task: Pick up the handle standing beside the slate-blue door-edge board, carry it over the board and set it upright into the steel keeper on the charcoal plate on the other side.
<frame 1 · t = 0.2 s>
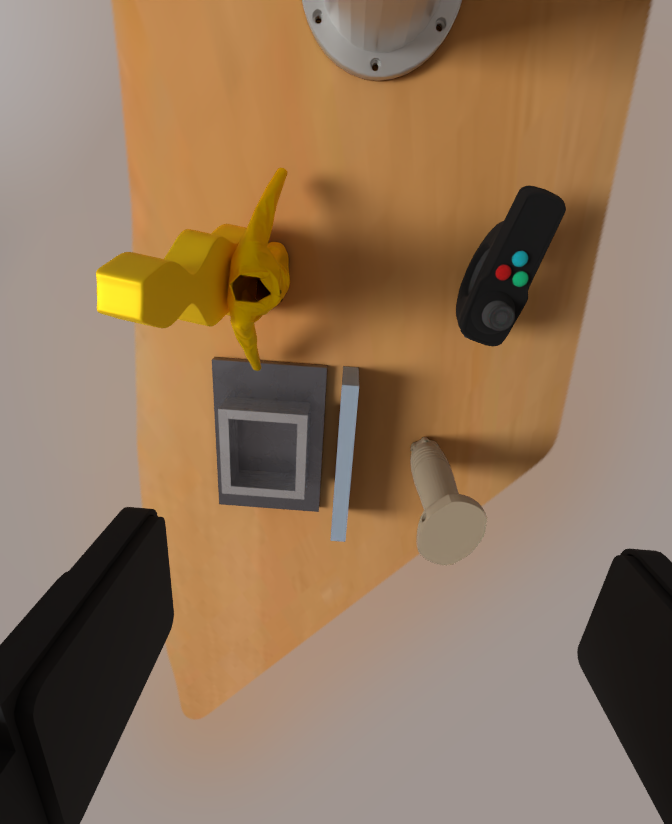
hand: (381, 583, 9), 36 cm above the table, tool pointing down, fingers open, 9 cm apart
keeper: (270, 437, 48), on the table
handle: (423, 447, 48), on the table
controller: (484, 265, 41), on the table
figure statuette: (256, 270, 42), on the table
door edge: (344, 442, 48), on the table
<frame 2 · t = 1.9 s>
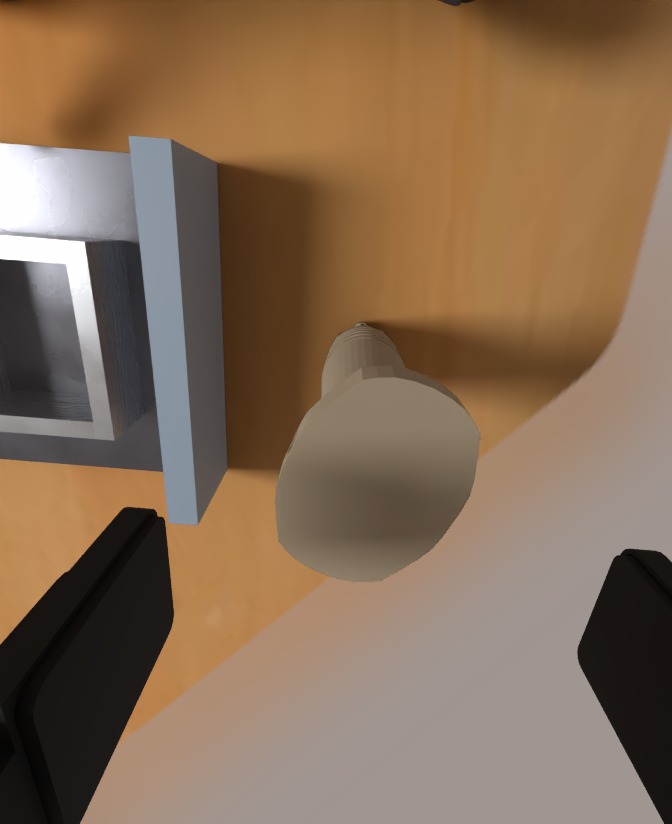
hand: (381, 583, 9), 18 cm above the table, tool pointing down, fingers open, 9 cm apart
keeper: (66, 324, 25), on the table
handle: (361, 347, 25), on the table
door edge: (209, 336, 25), on the table
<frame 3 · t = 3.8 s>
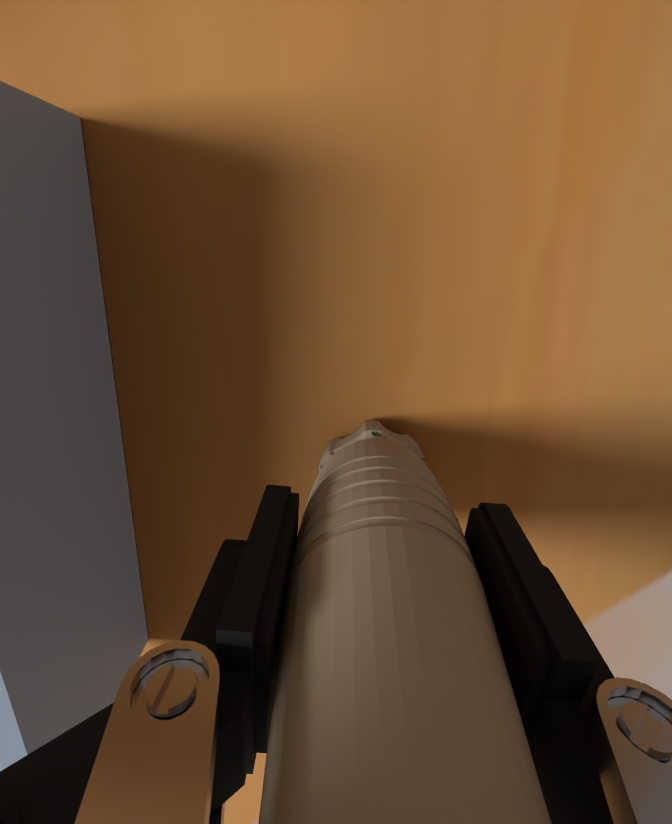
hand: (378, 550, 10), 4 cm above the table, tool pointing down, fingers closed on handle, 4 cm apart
handle: (371, 459, 14), on the table, touching gripper
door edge: (98, 439, 14), on the table
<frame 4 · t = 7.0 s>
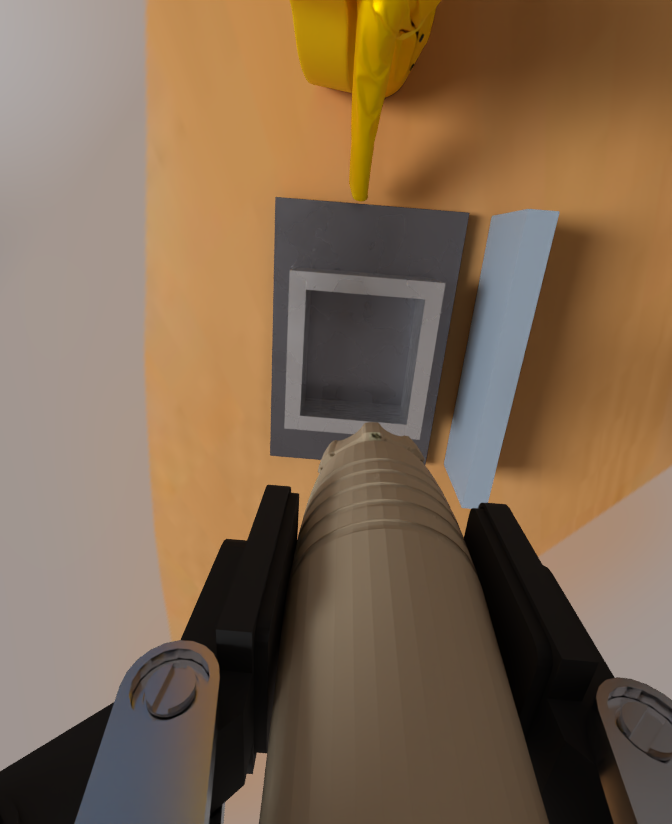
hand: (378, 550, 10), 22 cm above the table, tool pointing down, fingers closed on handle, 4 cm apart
keeper: (358, 344, 30), on the table
handle: (371, 460, 14), point 18 cm above the table, touching gripper
figure statuette: (362, 28, 24), on the table
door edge: (476, 354, 30), on the table
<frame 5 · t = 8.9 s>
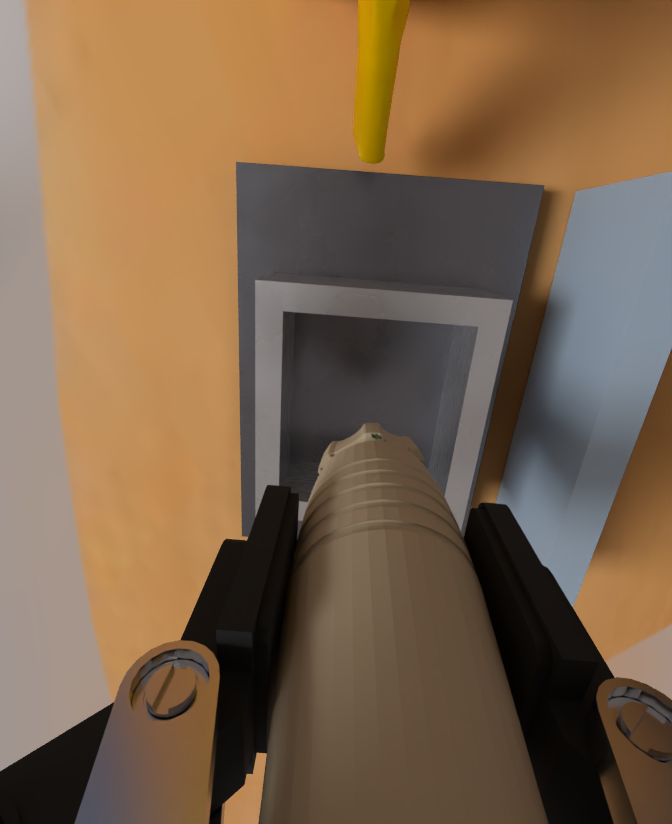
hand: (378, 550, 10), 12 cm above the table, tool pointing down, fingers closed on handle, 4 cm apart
keeper: (366, 384, 21), on the table
handle: (370, 461, 14), point 7 cm above the table, touching gripper
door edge: (539, 398, 21), on the table
when the fingers open (6 cm above the table, at t = 10.3 s): handle stays where it is, resting on keeper.
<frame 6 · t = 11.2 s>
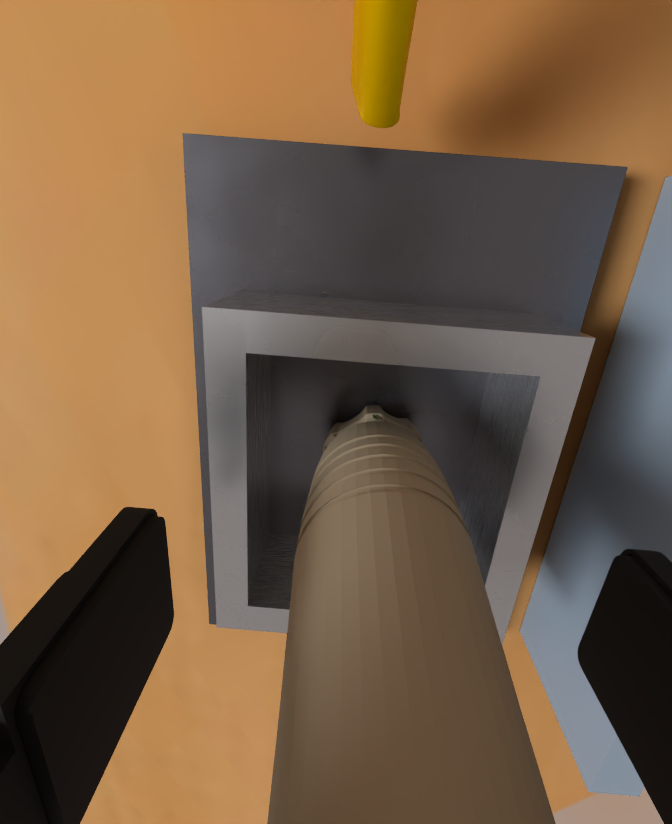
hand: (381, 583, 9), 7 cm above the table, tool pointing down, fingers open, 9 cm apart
keeper: (369, 436, 16), on the table
handle: (371, 442, 15), point 1 cm above the table, touching keeper
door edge: (598, 454, 16), on the table
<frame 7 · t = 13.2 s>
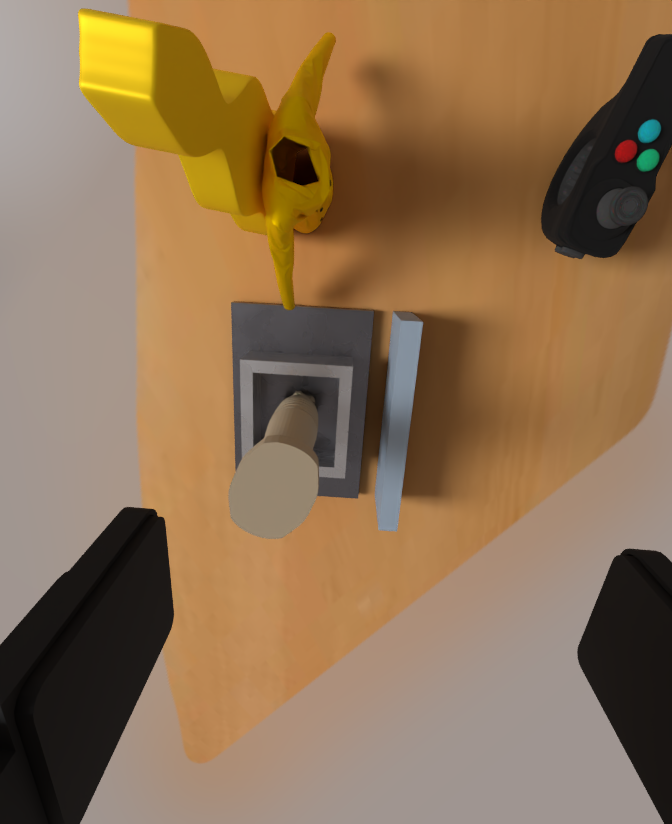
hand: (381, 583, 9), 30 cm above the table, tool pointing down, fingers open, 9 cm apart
keeper: (300, 404, 40), on the table
handle: (300, 405, 39), point 1 cm above the table, touching keeper
controller: (572, 175, 33), on the table
figure statuette: (288, 188, 34), on the table
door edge: (391, 410, 39), on the table
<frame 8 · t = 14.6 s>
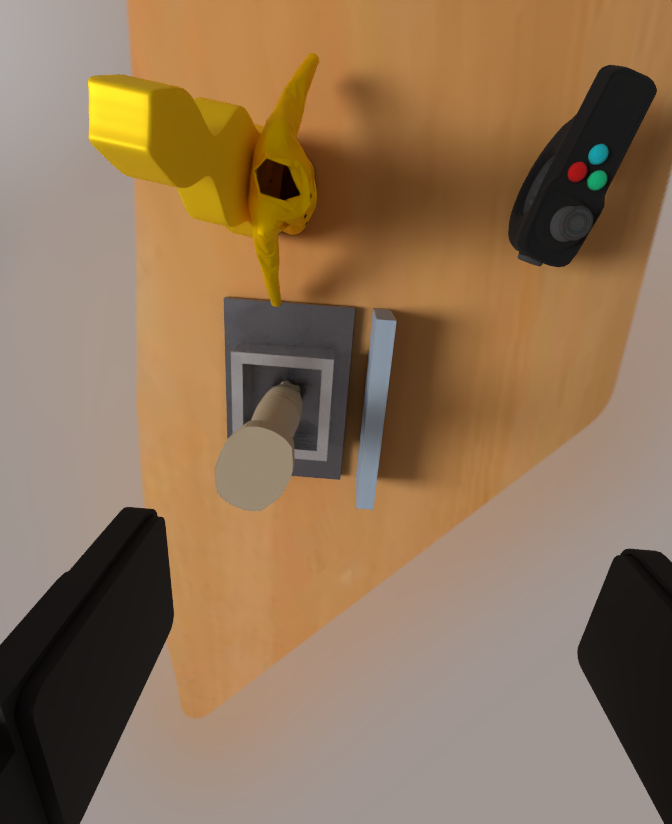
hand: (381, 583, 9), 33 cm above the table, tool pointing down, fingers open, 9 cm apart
keeper: (288, 392, 43), on the table
handle: (287, 394, 42), point 1 cm above the table, touching keeper
controller: (539, 186, 35), on the table
figure statuette: (277, 192, 36), on the table
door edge: (371, 399, 43), on the table
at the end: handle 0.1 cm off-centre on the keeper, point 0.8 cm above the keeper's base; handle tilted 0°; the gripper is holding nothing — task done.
